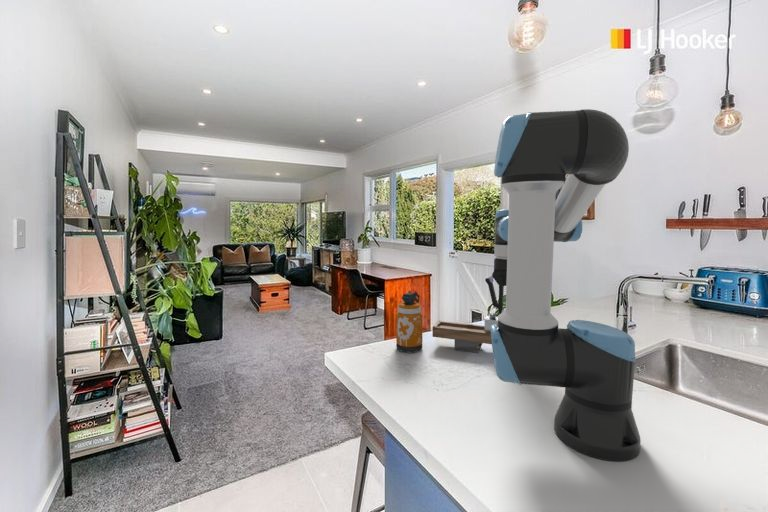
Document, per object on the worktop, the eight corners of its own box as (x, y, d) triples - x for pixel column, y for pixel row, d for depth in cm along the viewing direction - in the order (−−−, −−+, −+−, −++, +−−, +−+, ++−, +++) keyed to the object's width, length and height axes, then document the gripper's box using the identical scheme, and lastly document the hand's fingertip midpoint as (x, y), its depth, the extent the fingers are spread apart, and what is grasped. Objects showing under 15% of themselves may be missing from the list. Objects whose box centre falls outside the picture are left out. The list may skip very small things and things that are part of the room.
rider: (498, 335, 118) (499, 316, 117) (484, 333, 119) (484, 314, 119) (500, 331, 122) (500, 312, 121) (486, 330, 124) (486, 311, 123)
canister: (391, 351, 123) (391, 293, 121) (405, 341, 132) (405, 287, 130) (416, 355, 119) (416, 295, 117) (428, 345, 128) (428, 289, 126)
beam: (501, 357, 116) (502, 334, 115) (432, 347, 125) (432, 326, 125) (503, 349, 124) (504, 327, 123) (438, 340, 133) (438, 320, 132)
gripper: (528, 257, 117) (526, 327, 120) (487, 255, 123) (485, 323, 125) (527, 259, 110) (524, 334, 113) (483, 258, 116) (482, 329, 118)
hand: (504, 328), depth 119 cm, fingers closed
